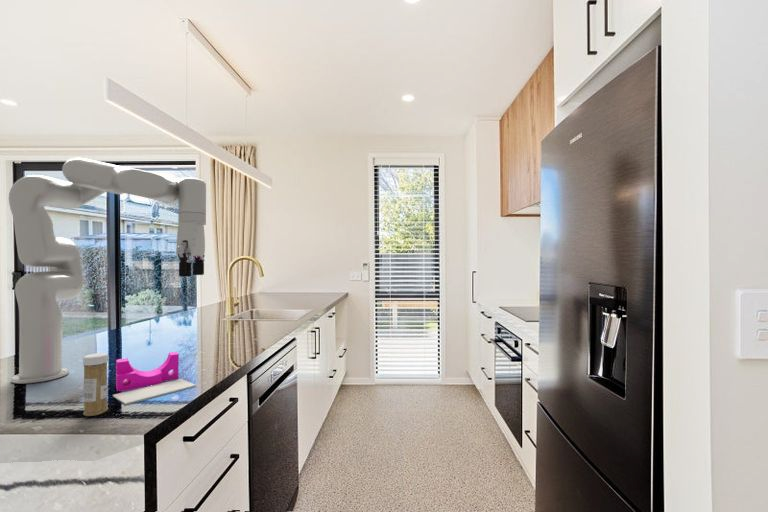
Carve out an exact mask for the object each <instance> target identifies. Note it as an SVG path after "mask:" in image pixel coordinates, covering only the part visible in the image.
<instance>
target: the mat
mask: <svg viewBox="0 0 768 512" xmlns="http://www.w3.org/2000/svg"><path fill="white" fill-rule="evenodd" d="M196 385H197V384H195V383H192V382H190V381H187V380H186V379H183V378H178V379H174V380H168V381H164V382H162V383H160V384H156V385H152V386H148V387H142V388H136V389H131V390H126V391H122V392H118V393H115V394H112V397H113V398H115V399H116V400H117V401H118V402H121V403H122V404H124V405H125V406H126V405H130V404H134V403H137V402H142V401H144V400H145V401H146V400H149V399H153V398H156V397H160V396H164V395H168V394H172V393H176V392H179V391H183V390H187V389H191V388H195V387H196Z"/></svg>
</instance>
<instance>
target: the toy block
mask: <svg viewBox="0 0 768 512" xmlns="http://www.w3.org/2000/svg"><path fill="white" fill-rule="evenodd" d="M179 355H180V354H179V353H178V352H177V351H172V352H168V356H167V358H166V359H165V361H164V362H163V363H162V364H161V365H160V366H158V367H156V368H154V369H151V370H146V371H145V370H139V369H137V368H135V367H133V366H132V364H130V360H129V357H128V358H127V357H126V358H118V359H115V360H116V363H115V386H116V387H115V389H116V392H117V393H119V392H126V391H131V390H135V389H139V388H141V387H142V388H144V387H145V386H151V385H156V384H160V383H163V382H167V381H166V380H168V381H172V380H171V379H174V380H177V378H178V379H179V358H180V357H179ZM170 371H171V372H170ZM118 391H119V392H118Z"/></svg>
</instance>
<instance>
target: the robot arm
mask: <svg viewBox="0 0 768 512" xmlns="http://www.w3.org/2000/svg"><path fill="white" fill-rule="evenodd" d="M61 169H62V170H61V171H62V174H63V176H64V178H65V180H67V181H65V180H61V179H57V178H54V177H50V176H45V175H39V174H37V175H36V174H32V175H31V174H29V175H25V176H21V177H20V178H18V179H17V180H16V181H15V182H14V183H13V184H12V186H11V188H10V190H9V192H8V205H9V208H10V211H11V215H12V219H13V224H14V233H15V243H16V249H17V250H16V251H17V256H18V259H19V262H21V264H23V266H26V267H31V268H49V271H46V270H45V271H34V272H30V273H27V274H25V275H23V276H21V277H20V278H19V279H18V280H17V282H16V283H15V287H14V292H15V298H16V301H17V305H18V306H17V307H18V311H19V313H18V315H19V325H18V326H19V348H18V349H19V353H18V355H19V356H18V357H19V358H18V364H19V365H18V366H19V367H18V374H16V375H13V376H12V377H11V382H12V383H13V384H18V385H19V384H21V385H22V384H23V385H25V384H33V383H34V384H35V383H42V382H47V381H53V380H56V379H59V378H63V377H65V376H66V375H68V374H69V368H67V367H63V313H62V311H61V308H60V306H59V304H58V302H64V301H69V300H72V299H75V298H77V297H78V296H80V294H81V293H82V290H83V288H84V278H83V277H84V276H83V269H82V261H81V260H82V259H81V253H80V251H79V248H78V246H77V245H76V244H75V242H73V241H72V240H71V239H68V238H66V237H60V236H59V237H57V236H56V235H55V231H54V224H53V220H52V217H51V216H50V214H49V212H48V211H47V210H46V208H45V206H49V207H55V208H60V209H65V210H67V209H68V210H73V209H77V208H81V207H82V206H84V205H86V204H87V203H89V202H91V201H93V200H94V199H97V198H98V197H99V196H101V195H103V194H105V193H110V194H114V195H123V194H126V195H127V194H128V195H131V196H137V197H141V198H145V199H148V200H149V199H150V200H153V201H158V202H161V203H165V204H169V205H178V206H177V207H178V208H177V209H178V214H177V215H178V216H177V219H178V220H177V221H178V223H177V225H178V227H177V233H176V246H175V247H176V249H175V252H176V255H177V257H178V276H179V277H192V275H193V276H203V275H205V253H206V249H205V248H206V238H205V226H206V225H207V183H206V181H204V180H203V179H200V178H197V177H196V178H195V177H183V178H180V180H176V179H173V178H170V177H168V176H165V175H163V174H160V173H157V172H156V173H155V172H153V171H152V172H151V171H146V170H142V169H138V168H137V169H136V168H132V167H126V166H123V165H122V166H121V165H116V164H112V163H107V162H104V161H103V162H102V161H98V160H94V159H93V160H92V159H88V158H84V157H83V158H82V157H75V158H74V157H73V158H70V159H68V160H66V161H65V162H64V163H63V165H62V167H61ZM191 260H193V261H192V262H191Z"/></svg>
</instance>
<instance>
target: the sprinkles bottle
mask: <svg viewBox="0 0 768 512" xmlns="http://www.w3.org/2000/svg"><path fill="white" fill-rule="evenodd" d="M82 361H83V362H82V364H83V367H84V368H83V372H84V373H83V412H82V415H83V416H85V417H93V416H99V415H102V414H104V413H106V412H107V411H108V409H109V408H108V361H109V355H108V353H105V352H98V353H97V352H95V353H91V354H87V355H86V354H85V355H84V356H83V358H82Z"/></svg>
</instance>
